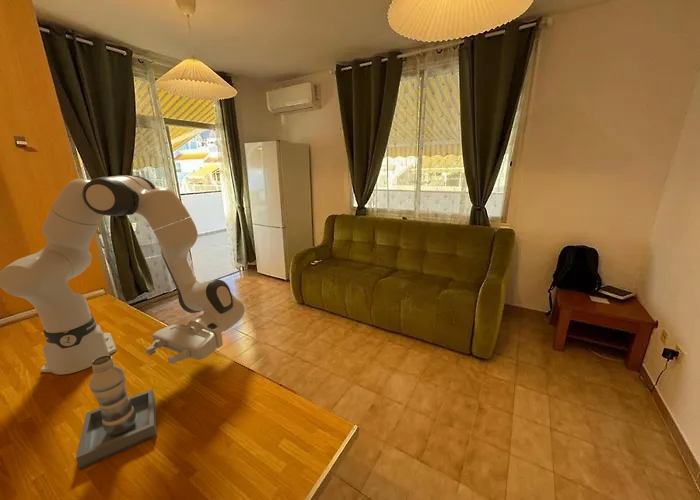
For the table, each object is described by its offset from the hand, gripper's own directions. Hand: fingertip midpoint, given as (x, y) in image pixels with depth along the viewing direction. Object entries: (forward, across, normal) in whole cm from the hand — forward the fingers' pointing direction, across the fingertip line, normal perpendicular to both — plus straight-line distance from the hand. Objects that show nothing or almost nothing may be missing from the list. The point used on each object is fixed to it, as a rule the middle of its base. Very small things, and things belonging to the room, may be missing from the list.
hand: (158, 356), depth 77 cm
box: (+12, 0, +13) cm, 18 cm away
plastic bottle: (+12, 0, +13) cm, 17 cm away
